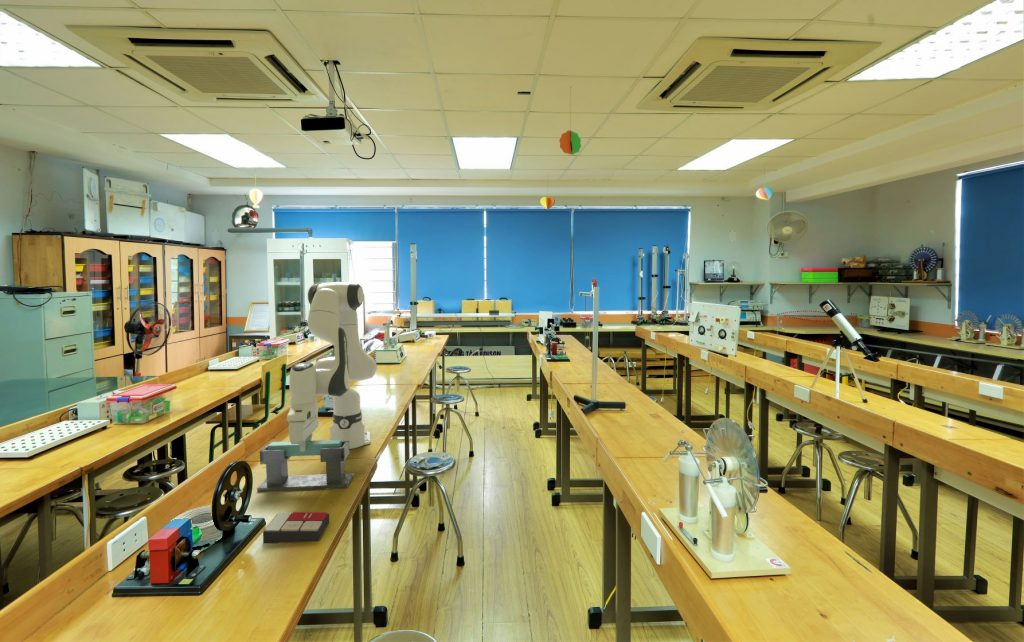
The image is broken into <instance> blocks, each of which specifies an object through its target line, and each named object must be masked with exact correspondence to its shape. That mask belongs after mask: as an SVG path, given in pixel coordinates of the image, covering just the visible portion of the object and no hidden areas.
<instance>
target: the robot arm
mask: <svg viewBox="0 0 1024 642" xmlns="http://www.w3.org/2000/svg"><path fill="white" fill-rule="evenodd" d="M363 301H364V290H363V287H362V285H360V284H359V283H356V282H341V281H340V282H339V281H335V282H325V283H321V282H319V283H315V284H312V285H311V286H310V287H309V289H308V292H307V302H308V304H309V305H310V307H309V312H308V317H307V328H308V330H309V332H310V333H311V334H312V335H313V336H314V337H316V338H317V339H320V340H322V341H325V342H328V343H329V344H332V345H333V348H334V349H333V350H334V356H329V357H328V356H327V357H323V358H319V359H318V360H317V361H316V362H315V364H313V363H311V362H307V361H306V362H299V363H295V364H293V365H292V366H291V368H290V371H289V382H288V383H289V393H290V401H289V404H290V405H289V406H290V407H289V411H288V413H287V415H286V421H287V422H288V435H289V436H288V437H289V441H290V442H291V444H299V446H300V451H301V452H303V451H305V450H306V449H307V448H306V447H307V446H306V444H305V441H312V438H313V433H314V431H315V430H317V428H318V427H319V414H318V413H319V411H318V410H319V409H318V408H319V407H318V406H319V405H318V397H317V396H331V397H332V398H331V399H332V405H333V413H332V424H330V426H329V439H328V440H342V441H349V450H352V449H357V448H360V447H362V446H366V445H369V444H371V432H370V431H366V425H365V424H366V423H365V422H364V420H363V415H362V414H363V413H362V409H361V396H360V393H359V392H358V391H357V390H354V389H353V388H351V387H350V385H351V382H356V381H357V382H358V381H360V382H361V381H365V380H369V379H373V378H374V377H375V376H376V375H375V374H376V373H377V369H378V368H377V367H378V365H377V361H376V360H375V359H374V357H373V356H371V355H369V353H367V352H366V351H365V350H364V348H363V347H362V345H361V342H360V338H359V337H360V336H359V335H360V334H359V326H358V325H359V323H358V320H359V319H358V313H357V309H358V308H359V307H361V305H362V304H363Z"/></svg>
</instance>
